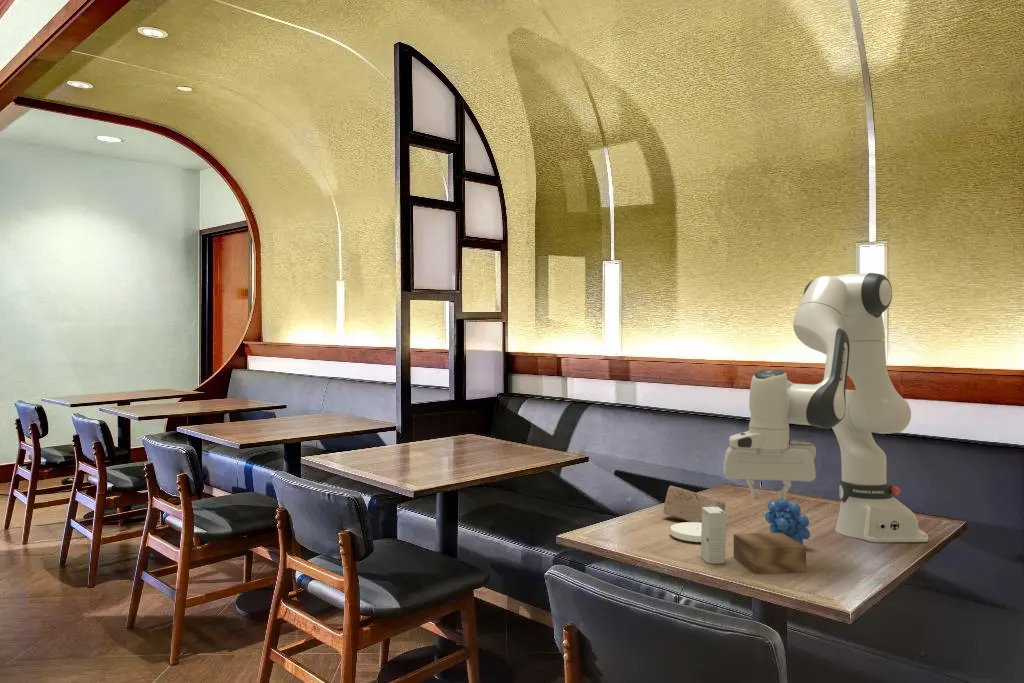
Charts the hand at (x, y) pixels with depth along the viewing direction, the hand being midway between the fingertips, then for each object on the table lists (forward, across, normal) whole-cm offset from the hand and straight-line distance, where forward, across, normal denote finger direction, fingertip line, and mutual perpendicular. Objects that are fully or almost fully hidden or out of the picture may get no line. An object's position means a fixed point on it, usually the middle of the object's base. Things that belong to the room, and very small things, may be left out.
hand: (768, 498), depth 169 cm
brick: (+16, +14, -35) cm, 41 cm away
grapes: (+15, -7, -16) cm, 23 cm away
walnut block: (+16, 0, 0) cm, 16 cm away
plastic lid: (+16, +14, -21) cm, 30 cm away
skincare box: (+16, +12, -1) cm, 20 cm away
